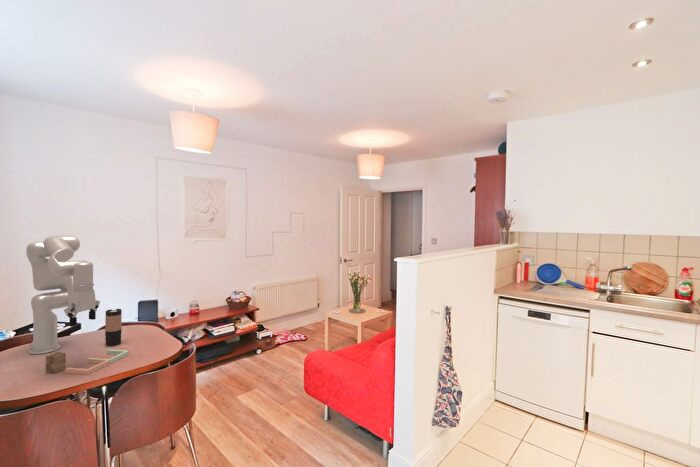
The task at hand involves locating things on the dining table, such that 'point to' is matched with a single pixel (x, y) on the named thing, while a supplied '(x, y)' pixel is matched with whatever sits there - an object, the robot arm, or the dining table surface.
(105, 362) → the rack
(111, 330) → the travel mug
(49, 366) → the walnut block
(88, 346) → the dining table surface
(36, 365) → the dining table surface
